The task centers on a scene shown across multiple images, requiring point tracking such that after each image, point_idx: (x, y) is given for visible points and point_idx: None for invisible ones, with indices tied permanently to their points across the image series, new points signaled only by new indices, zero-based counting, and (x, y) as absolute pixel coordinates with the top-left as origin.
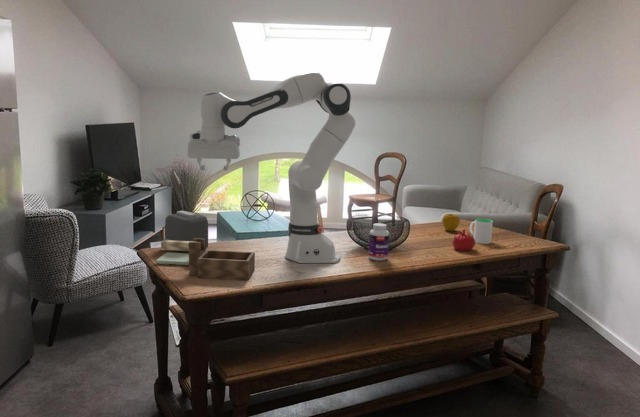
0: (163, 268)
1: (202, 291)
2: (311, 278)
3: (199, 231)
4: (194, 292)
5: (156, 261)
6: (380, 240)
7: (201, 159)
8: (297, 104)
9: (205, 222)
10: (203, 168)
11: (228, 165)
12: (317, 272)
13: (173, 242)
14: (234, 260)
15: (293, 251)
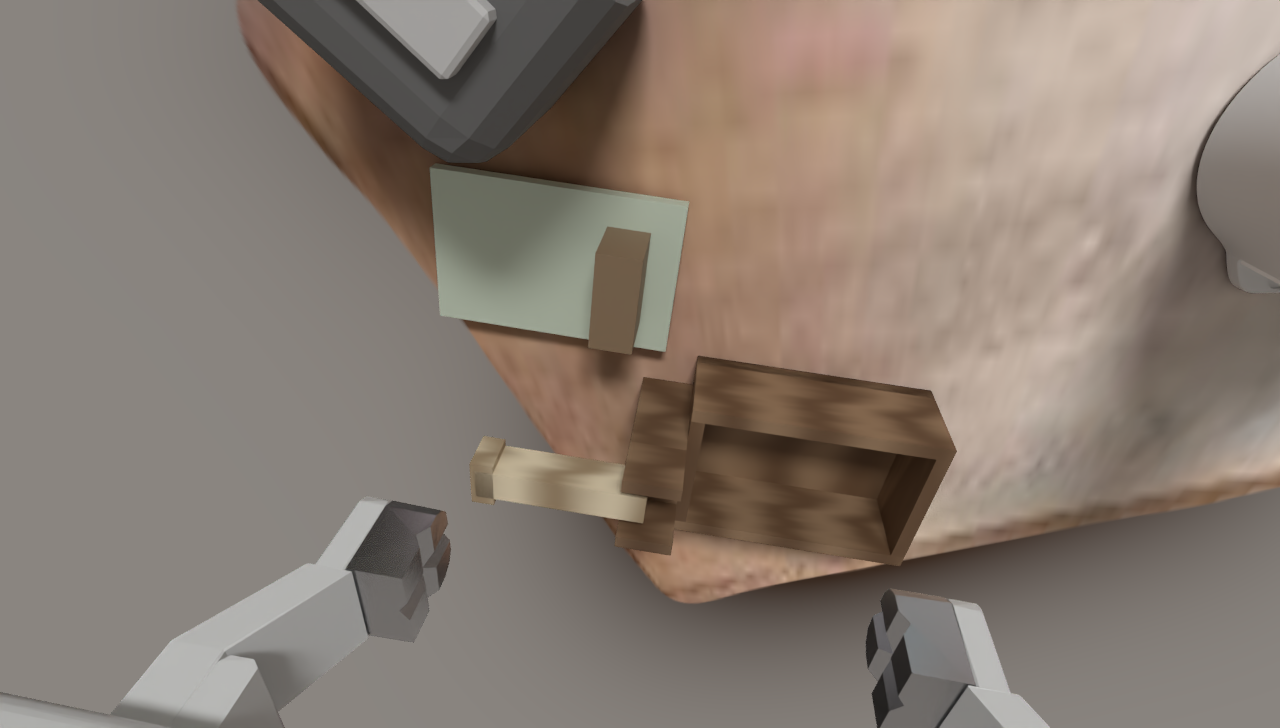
0: (504, 358)
1: (714, 575)
2: (1178, 492)
3: (575, 72)
4: (689, 579)
5: (444, 313)
6: None
7: (245, 716)
8: None
9: (603, 26)
10: (436, 590)
11: (1013, 711)
12: (1258, 424)
13: (532, 504)
14: (836, 554)
15: (1263, 254)
